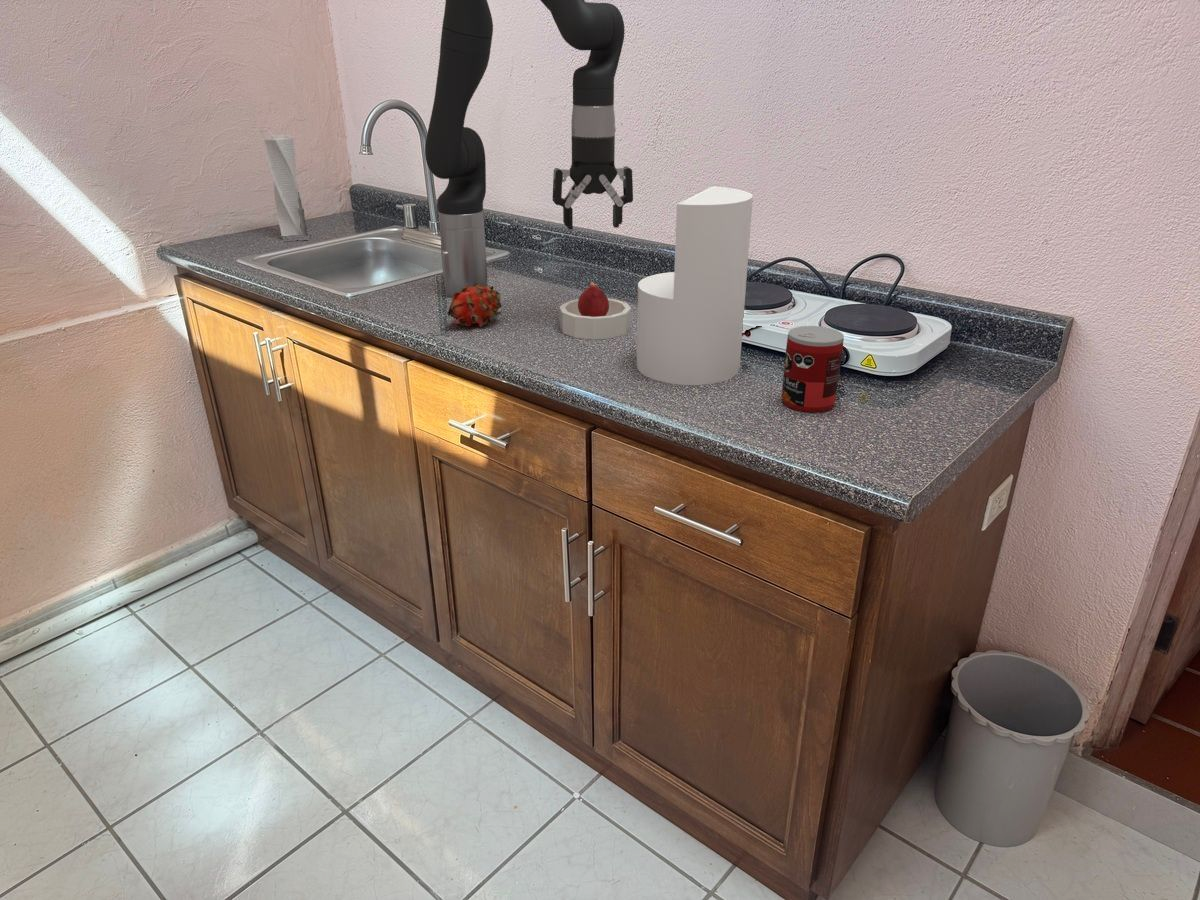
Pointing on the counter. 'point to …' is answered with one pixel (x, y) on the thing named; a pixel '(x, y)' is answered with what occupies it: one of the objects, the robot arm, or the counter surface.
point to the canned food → (812, 368)
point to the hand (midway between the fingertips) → (592, 227)
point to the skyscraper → (285, 184)
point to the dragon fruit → (475, 305)
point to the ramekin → (595, 321)
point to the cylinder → (698, 294)
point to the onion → (593, 302)
